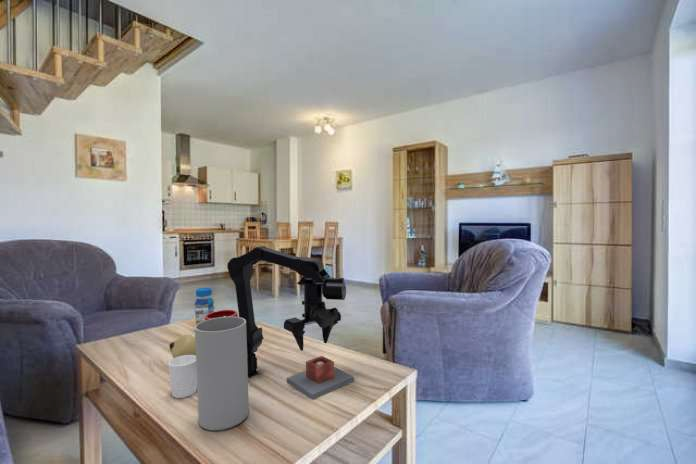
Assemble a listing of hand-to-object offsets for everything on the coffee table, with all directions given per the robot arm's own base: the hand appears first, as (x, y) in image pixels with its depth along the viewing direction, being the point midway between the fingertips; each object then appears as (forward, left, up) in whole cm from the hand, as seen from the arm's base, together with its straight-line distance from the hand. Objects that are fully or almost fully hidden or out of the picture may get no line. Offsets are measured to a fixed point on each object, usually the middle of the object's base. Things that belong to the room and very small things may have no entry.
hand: (313, 346), depth 109 cm
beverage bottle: (-9, +74, -11) cm, 75 cm away
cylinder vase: (-29, 0, -11) cm, 32 cm away
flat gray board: (+1, -2, -11) cm, 11 cm away
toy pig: (-26, +43, -11) cm, 51 cm away
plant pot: (-8, +56, -11) cm, 57 cm away
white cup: (-33, +21, -11) cm, 41 cm away
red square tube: (+1, -2, -9) cm, 10 cm away
